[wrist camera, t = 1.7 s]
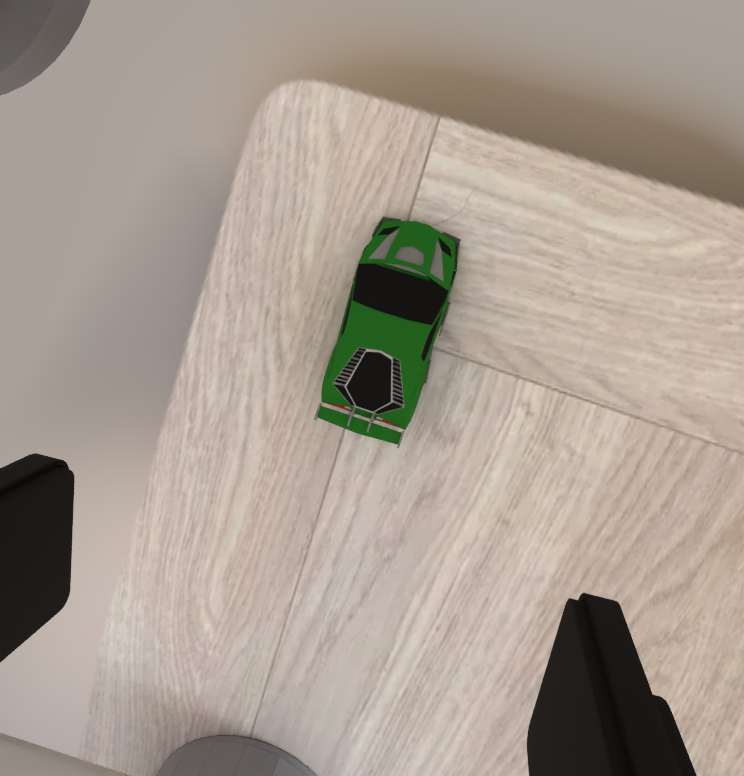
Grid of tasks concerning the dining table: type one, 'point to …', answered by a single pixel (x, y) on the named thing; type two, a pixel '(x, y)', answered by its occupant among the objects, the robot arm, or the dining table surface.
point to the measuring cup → (232, 759)
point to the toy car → (390, 328)
